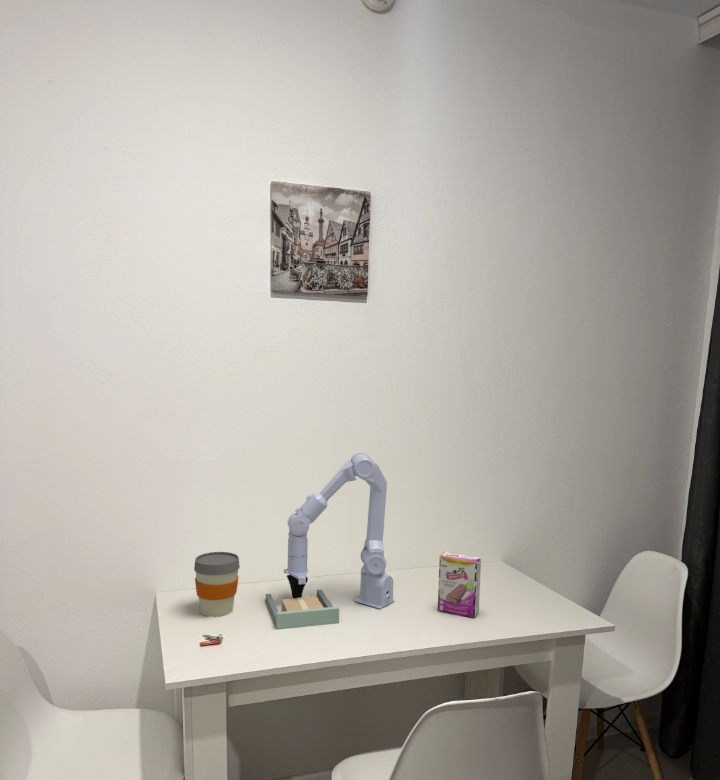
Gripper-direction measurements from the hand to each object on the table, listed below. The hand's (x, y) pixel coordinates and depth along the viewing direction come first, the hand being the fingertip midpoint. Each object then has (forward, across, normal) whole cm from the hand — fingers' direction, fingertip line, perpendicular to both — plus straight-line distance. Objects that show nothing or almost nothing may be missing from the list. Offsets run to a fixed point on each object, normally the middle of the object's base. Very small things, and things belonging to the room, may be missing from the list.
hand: (296, 600), depth 187 cm
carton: (+1, +10, 0) cm, 10 cm away
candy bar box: (+1, +17, +44) cm, 47 cm away
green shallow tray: (+1, +6, 0) cm, 6 cm away
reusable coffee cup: (+1, 0, -23) cm, 23 cm away
